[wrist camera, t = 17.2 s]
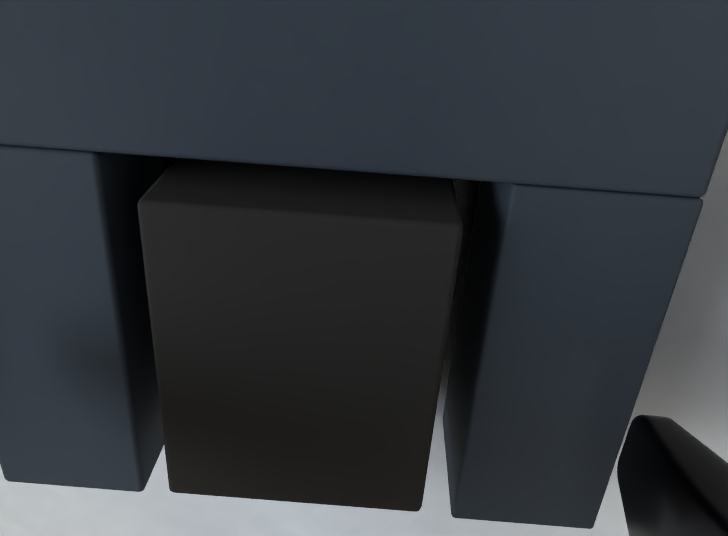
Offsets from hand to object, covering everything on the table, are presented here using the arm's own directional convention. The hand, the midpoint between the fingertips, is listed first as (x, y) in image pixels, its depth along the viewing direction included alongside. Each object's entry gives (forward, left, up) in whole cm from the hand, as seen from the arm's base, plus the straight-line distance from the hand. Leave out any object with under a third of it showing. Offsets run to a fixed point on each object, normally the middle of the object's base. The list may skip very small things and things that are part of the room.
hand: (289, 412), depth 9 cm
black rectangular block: (0, 0, -4) cm, 4 cm away
